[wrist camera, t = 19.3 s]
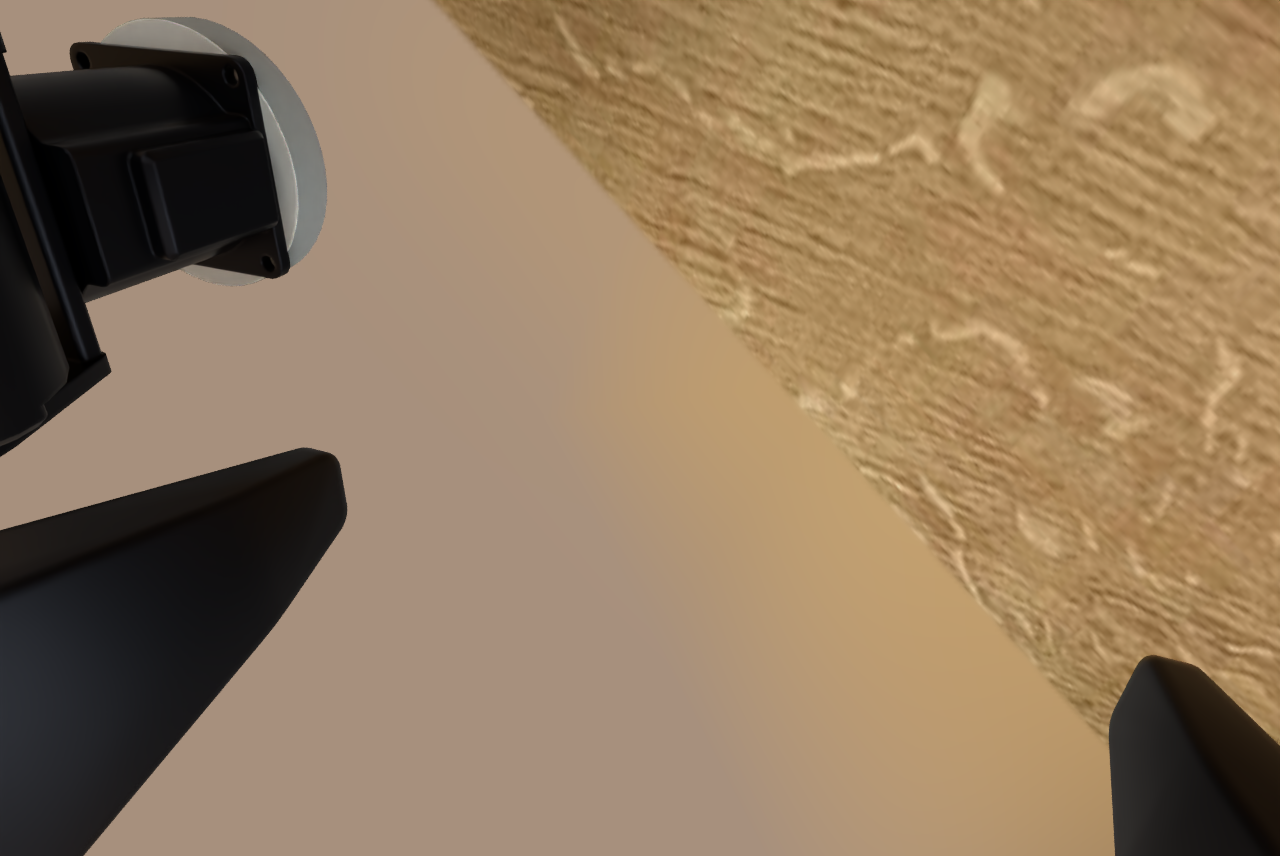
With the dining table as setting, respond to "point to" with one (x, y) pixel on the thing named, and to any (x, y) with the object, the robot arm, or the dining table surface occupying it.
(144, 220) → the robot arm
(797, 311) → the dining table surface
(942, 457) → the dining table surface
